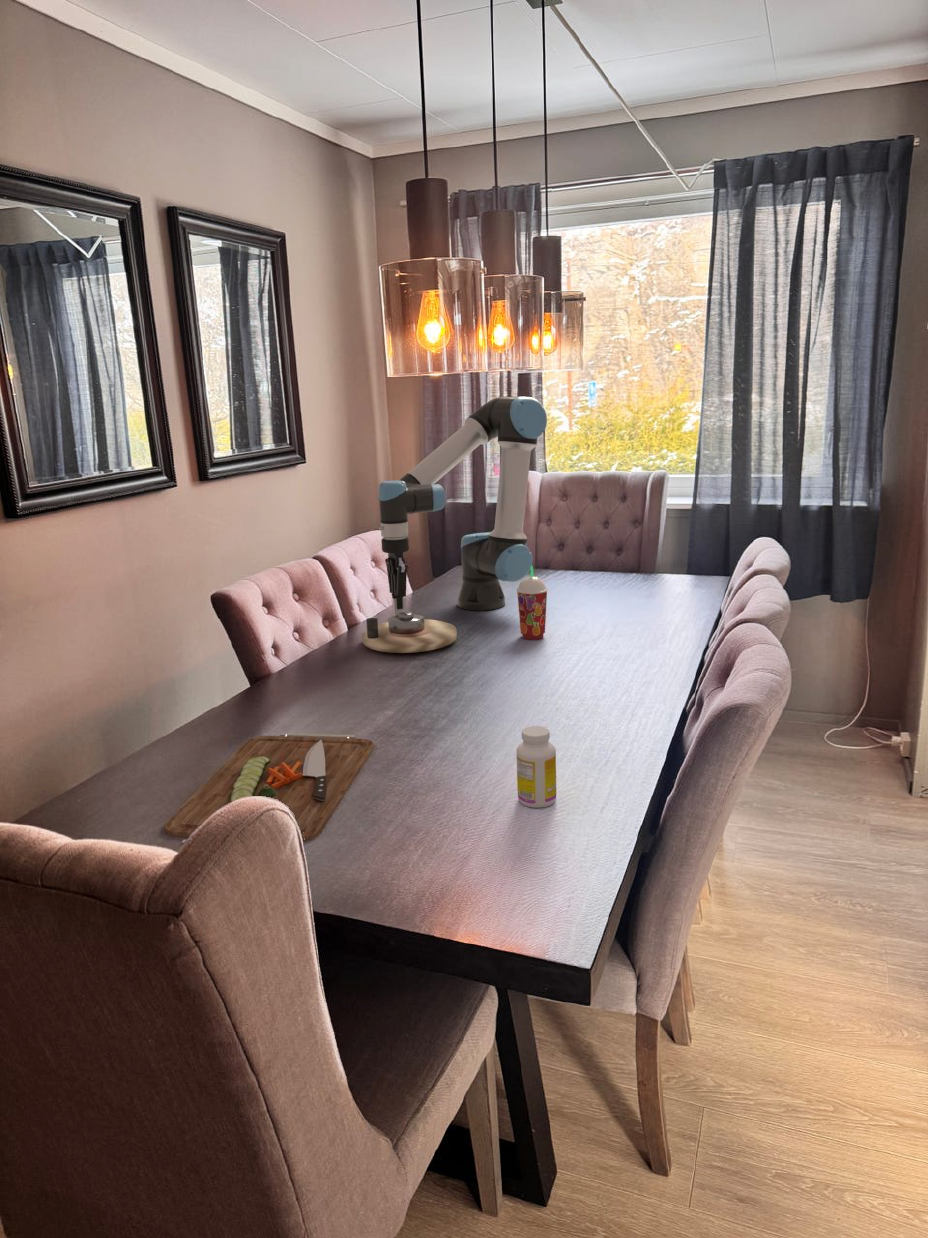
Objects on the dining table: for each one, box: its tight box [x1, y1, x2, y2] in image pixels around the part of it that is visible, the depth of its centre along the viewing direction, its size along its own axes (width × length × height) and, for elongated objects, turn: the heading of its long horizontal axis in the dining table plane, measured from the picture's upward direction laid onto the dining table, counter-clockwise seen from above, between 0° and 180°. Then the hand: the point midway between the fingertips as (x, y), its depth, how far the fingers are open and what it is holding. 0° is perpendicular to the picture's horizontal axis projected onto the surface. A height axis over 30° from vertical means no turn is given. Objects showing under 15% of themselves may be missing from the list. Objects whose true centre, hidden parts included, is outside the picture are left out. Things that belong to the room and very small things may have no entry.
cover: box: [387, 611, 425, 634], centre depth 247 cm, size 10×10×4 cm
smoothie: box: [516, 565, 548, 641], centre depth 245 cm, size 8×8×20 cm
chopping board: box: [163, 732, 375, 845], centre depth 163 cm, size 45×27×3 cm, turn 171°
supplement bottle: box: [515, 725, 557, 809], centre depth 151 cm, size 7×7×13 cm
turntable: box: [361, 617, 458, 654], centre depth 245 cm, size 26×26×7 cm
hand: (399, 619), depth 253 cm, fingers closed
